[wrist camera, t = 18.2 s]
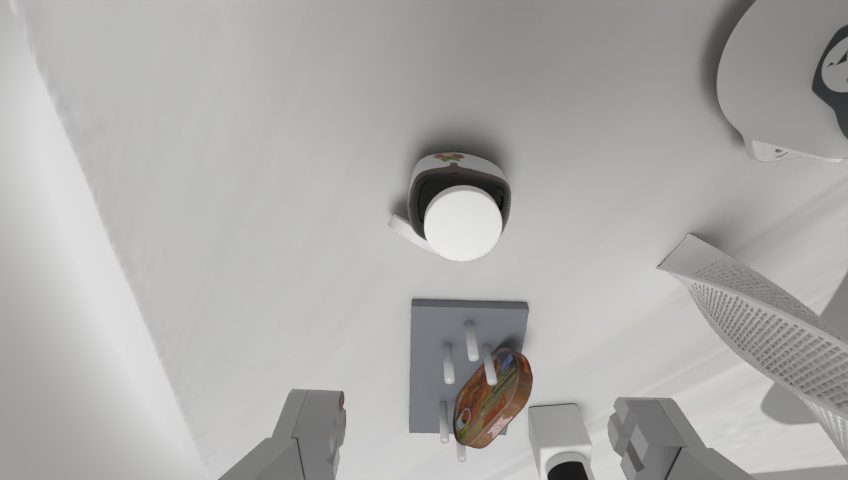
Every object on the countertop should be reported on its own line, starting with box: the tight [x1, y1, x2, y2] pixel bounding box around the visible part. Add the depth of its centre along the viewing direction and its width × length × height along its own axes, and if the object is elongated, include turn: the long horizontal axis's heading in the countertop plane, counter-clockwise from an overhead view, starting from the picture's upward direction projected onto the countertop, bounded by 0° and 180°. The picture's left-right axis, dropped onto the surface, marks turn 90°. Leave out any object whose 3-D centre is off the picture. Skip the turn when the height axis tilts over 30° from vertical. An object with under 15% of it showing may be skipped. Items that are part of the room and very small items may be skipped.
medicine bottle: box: [529, 404, 595, 480], centre depth 57 cm, size 7×7×12 cm
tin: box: [453, 347, 533, 449], centre depth 52 cm, size 15×3×8 cm, turn 151°
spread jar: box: [388, 152, 511, 261], centre depth 41 cm, size 12×11×12 cm
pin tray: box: [409, 299, 529, 462], centre depth 54 cm, size 15×24×8 cm, turn 178°
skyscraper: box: [656, 233, 848, 463], centre depth 37 cm, size 8×8×28 cm
